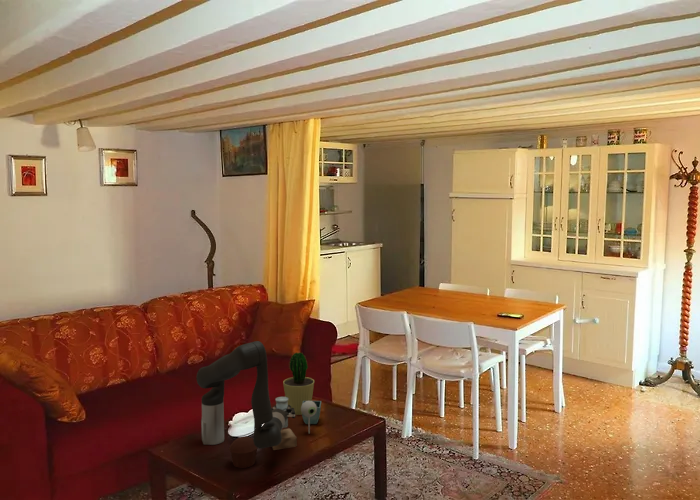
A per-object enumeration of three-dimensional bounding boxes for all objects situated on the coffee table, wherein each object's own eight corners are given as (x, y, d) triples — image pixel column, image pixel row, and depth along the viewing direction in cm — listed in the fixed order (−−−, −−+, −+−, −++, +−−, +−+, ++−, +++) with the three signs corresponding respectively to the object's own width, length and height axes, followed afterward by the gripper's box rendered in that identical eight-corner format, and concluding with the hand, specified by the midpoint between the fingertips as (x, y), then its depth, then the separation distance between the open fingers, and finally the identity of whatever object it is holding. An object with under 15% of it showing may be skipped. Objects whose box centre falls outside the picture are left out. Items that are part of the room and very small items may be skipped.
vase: (277, 429, 246) (277, 401, 246) (274, 424, 251) (274, 397, 251) (290, 427, 248) (289, 399, 247) (286, 423, 253) (286, 396, 252)
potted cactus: (319, 407, 294) (319, 348, 292) (306, 418, 280) (306, 356, 277) (292, 403, 300) (291, 346, 297) (277, 413, 285) (277, 353, 283)
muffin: (244, 454, 241) (243, 430, 240) (264, 460, 235) (264, 436, 234) (222, 464, 231) (222, 440, 230) (243, 472, 225) (242, 447, 224)
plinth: (273, 450, 244) (273, 440, 244) (268, 440, 254) (267, 431, 253) (296, 446, 248) (296, 436, 248) (290, 437, 257) (290, 428, 257)
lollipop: (304, 438, 257) (304, 404, 255) (298, 432, 263) (298, 399, 262) (319, 434, 260) (319, 402, 259) (313, 429, 266) (312, 397, 265)
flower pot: (320, 426, 270) (320, 407, 269) (301, 426, 270) (301, 407, 269) (321, 419, 279) (321, 400, 278) (303, 418, 279) (302, 400, 278)
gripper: (293, 412, 234) (299, 398, 251) (258, 411, 235) (266, 398, 252) (293, 430, 235) (299, 415, 252) (258, 430, 236) (266, 414, 253)
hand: (283, 406), depth 252 cm, fingers closed on vase, 4 cm apart
